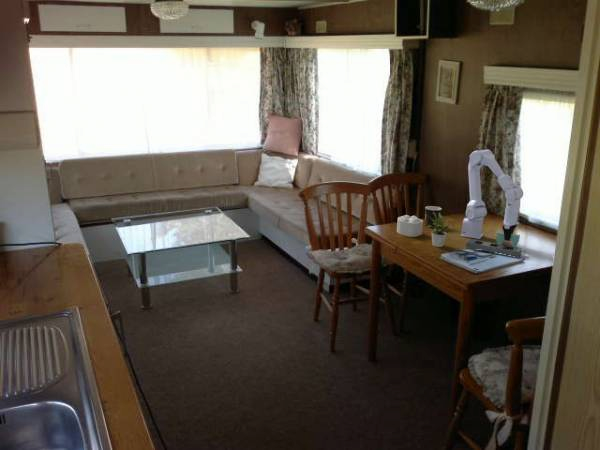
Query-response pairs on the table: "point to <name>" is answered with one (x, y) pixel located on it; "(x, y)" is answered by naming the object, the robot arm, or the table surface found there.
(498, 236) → the teal rectangular block
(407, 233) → the lumpy-topped squat cylinder
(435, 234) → the house plant
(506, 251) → the rail
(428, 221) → the coffee mug
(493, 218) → the table surface
